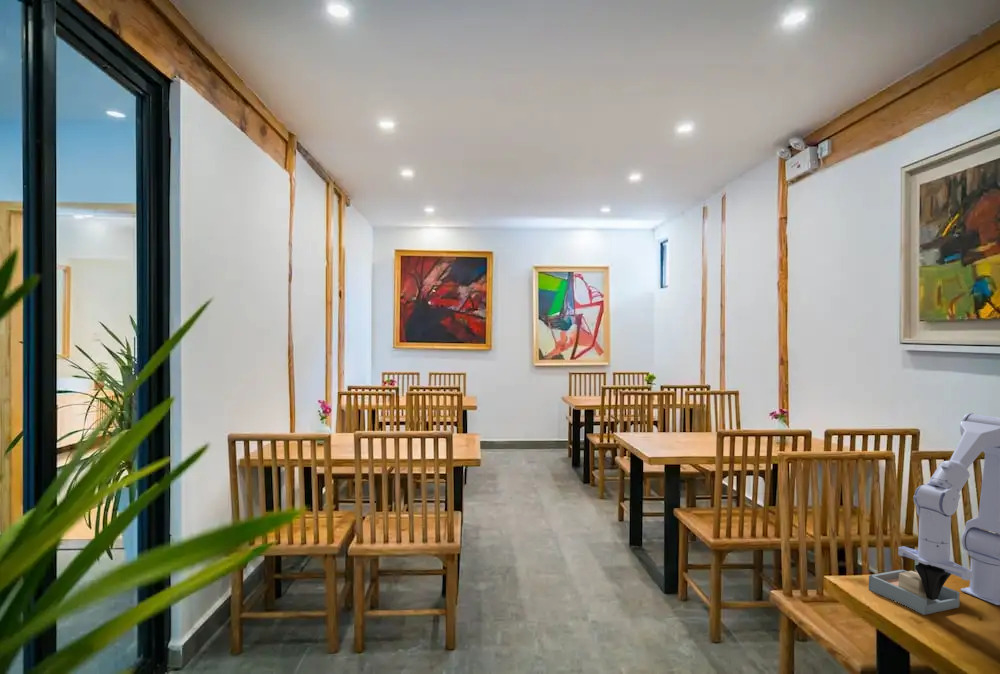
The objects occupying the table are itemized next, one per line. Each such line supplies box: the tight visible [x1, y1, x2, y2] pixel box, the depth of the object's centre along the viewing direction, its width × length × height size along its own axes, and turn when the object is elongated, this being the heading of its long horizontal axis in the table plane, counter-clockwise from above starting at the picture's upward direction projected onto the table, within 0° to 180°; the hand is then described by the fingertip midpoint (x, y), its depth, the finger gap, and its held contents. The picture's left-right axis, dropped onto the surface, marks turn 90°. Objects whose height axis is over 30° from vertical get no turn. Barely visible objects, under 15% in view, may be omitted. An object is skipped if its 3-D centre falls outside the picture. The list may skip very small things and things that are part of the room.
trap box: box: [868, 569, 961, 616], centre depth 134 cm, size 12×13×4 cm
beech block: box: [898, 570, 928, 599], centre depth 131 cm, size 4×4×4 cm
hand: (932, 598), depth 128 cm, fingers closed
